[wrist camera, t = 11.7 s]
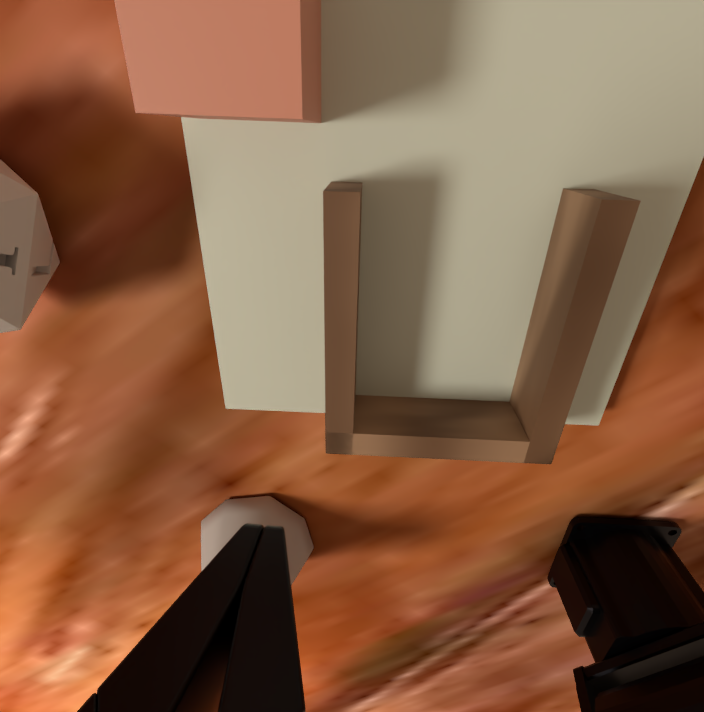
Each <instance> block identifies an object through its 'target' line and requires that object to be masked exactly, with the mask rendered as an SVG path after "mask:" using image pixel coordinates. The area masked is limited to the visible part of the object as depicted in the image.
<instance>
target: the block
mask: <svg viewBox="0 0 704 712" xmlns="http://www.w3.org/2000/svg"><path fill="white" fill-rule="evenodd" d="M114 1H115V7H116V12H117V17H118V23H119V28H120V33H121V38H122V44H123V49H124V54H125V60H126V65H127V70H128V75H129V81H130V86H131V91H132V97H133V102H134V107H135V113H143V114H154V115H165V116H176V117H187V118H198V119H224V120H250V121H276V122H303V123H321V0H114Z"/></svg>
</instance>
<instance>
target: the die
mask: <svg viewBox="0 0 704 712" xmlns="http://www.w3.org/2000/svg"><path fill="white" fill-rule="evenodd" d="M59 263H60V261H59V258H58V254H57V251H56V248H55V245H54V243H53V239H52V236H51V233H50V229H49V226H48V223H47V220H46V217H45V214H44V211H43V208H42V204H41V201H40V198H39V195H38V193H37V192H36V191H35V190H33V189H32V188H31V187H30V186H29V185H28V184H27V183H26V182H25V181H24V180H23V179H21V178H20V177H19V176H18V175H17V174H16V173H15V172H14V171H13V170H12V169H10V168H9V167H8V166H7V165H6V164H5V163H4V162H3V161H2V160H1V159H0V333H3V332H9V331H15V330H21V328H22V326H23V325H24V323H25V321H26V320H27V318H28V316H29V314H30V313H31V311H32V309H33V308H34V306H35V304H36V303H37V301H38V299H39V297H40V296H41V294H42V292H43V291H44V289H45V287H46V286H47V284H48V282H49V280H50V279H51V277H52V275H53V274H54V272H55V270H56V269H57V267H58V265H59Z"/></svg>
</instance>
